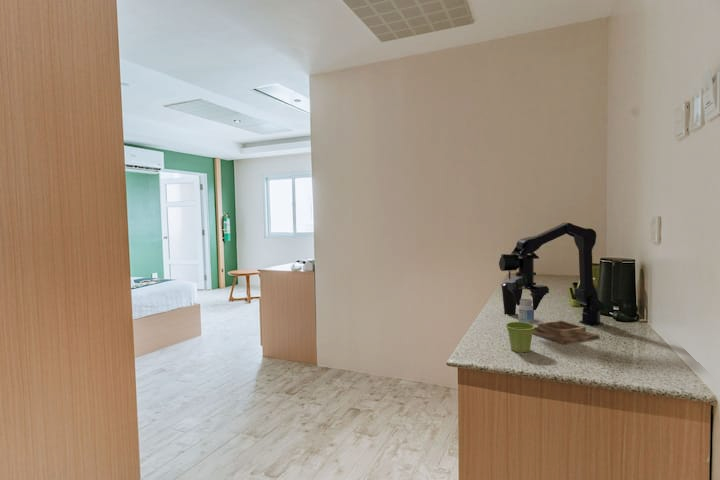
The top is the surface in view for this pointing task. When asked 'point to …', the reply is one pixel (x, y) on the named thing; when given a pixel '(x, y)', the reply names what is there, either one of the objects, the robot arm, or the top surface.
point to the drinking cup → (508, 300)
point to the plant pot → (520, 336)
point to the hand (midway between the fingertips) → (526, 307)
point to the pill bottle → (526, 311)
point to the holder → (563, 332)
